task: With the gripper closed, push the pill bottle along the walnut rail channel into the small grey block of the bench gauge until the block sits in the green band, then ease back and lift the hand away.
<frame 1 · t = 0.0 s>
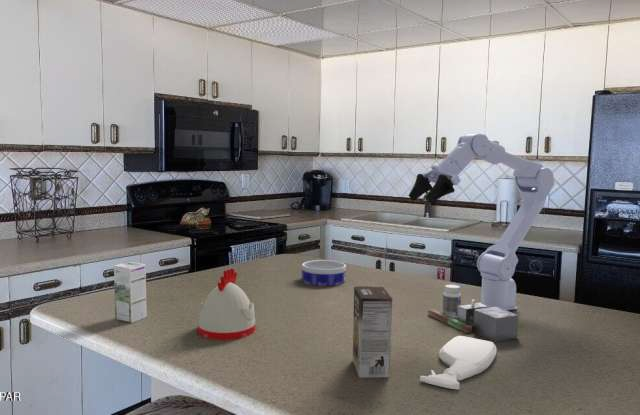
hand: (419, 199, 138), 32 cm above the countertop, tool tilted 50°, fingers open, 7 cm apart
spray bottle: (459, 369, 108), on the countertop
pill bottle: (451, 316, 143), on the countertop
dog bowl: (323, 281, 181), on the countertop
gauge rails: (463, 321, 139), on the countertop
kitchen timer: (227, 330, 128), on the countertop
syrup box: (130, 319, 135), on the countertop
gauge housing: (493, 334, 129), on the countertop
small grey block: (478, 314, 133), point 3 cm above the countertop, slide at 0.0 cm
coffee box: (370, 369, 106), on the countertop
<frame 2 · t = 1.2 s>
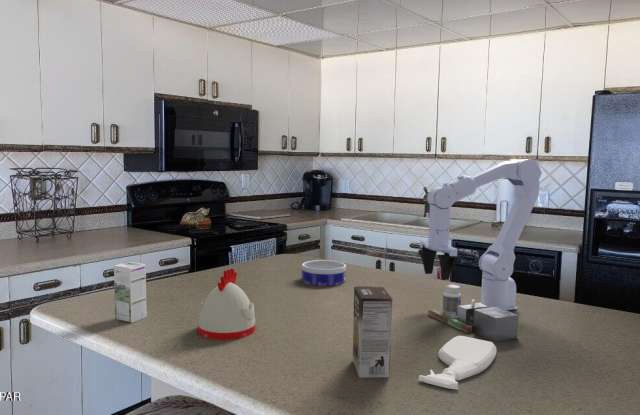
hand: (436, 276, 149), 9 cm above the countertop, tool pointing down, fingers open, 7 cm apart
nothing on the countertop moved.
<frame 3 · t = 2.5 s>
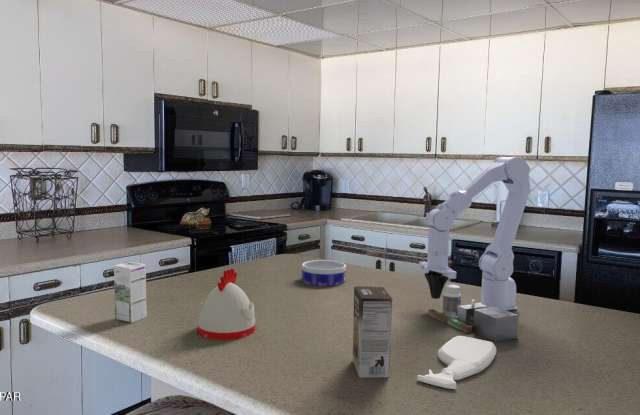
hand: (435, 298, 149), 3 cm above the countertop, tool pointing down, fingers closed
nothing on the countertop moved.
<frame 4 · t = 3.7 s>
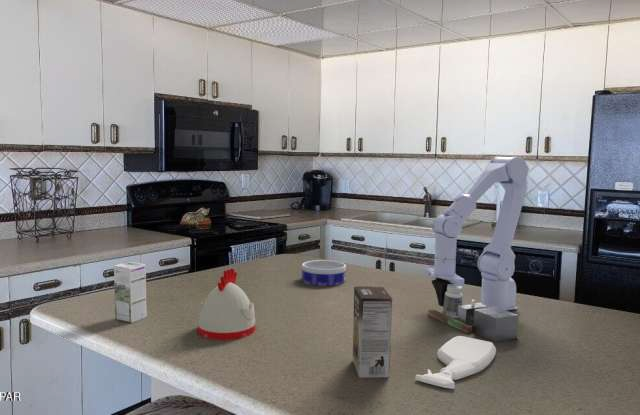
hand: (443, 305, 146), 2 cm above the countertop, tool pointing down, fingers closed
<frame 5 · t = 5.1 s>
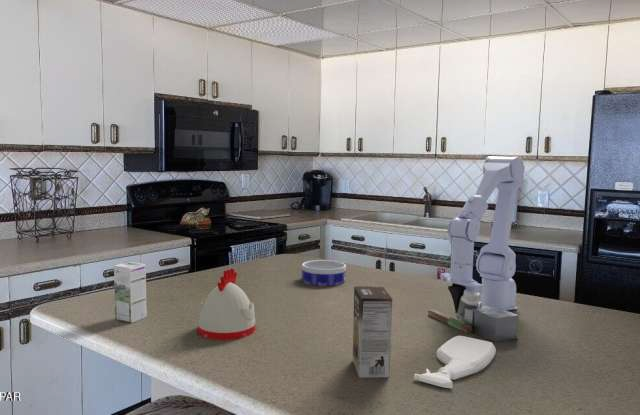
hand: (459, 312, 140), 2 cm above the countertop, tool pointing down, fingers closed, pressing on pill bottle
pill bottle: (464, 320, 138), on the countertop, touching gripper, small grey block
small grey block: (484, 317, 131), point 3 cm above the countertop, slide at 2.5 cm, touching pill bottle
everything else where it was.
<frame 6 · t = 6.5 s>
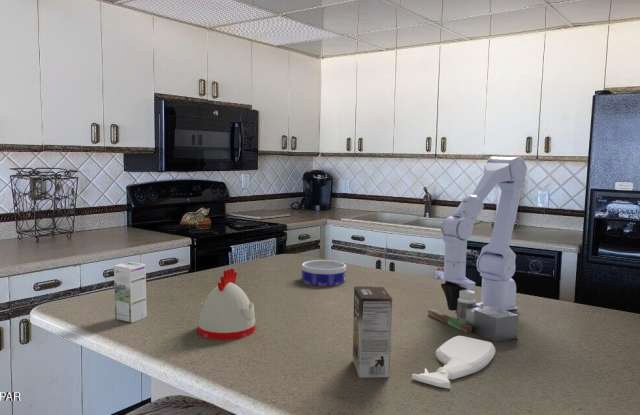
hand: (452, 309, 143), 2 cm above the countertop, tool pointing down, fingers closed
pill bottle: (465, 323, 138), on the countertop
small grey block: (486, 317, 131), point 3 cm above the countertop, slide at 3.0 cm, touching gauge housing
everything else where it was.
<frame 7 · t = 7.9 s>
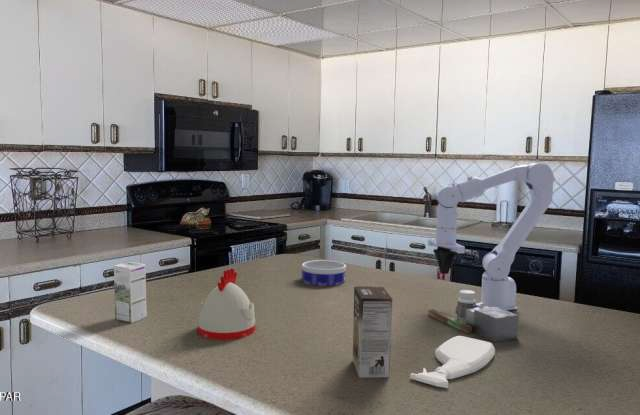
hand: (444, 273, 154), 9 cm above the countertop, tool pointing down, fingers closed
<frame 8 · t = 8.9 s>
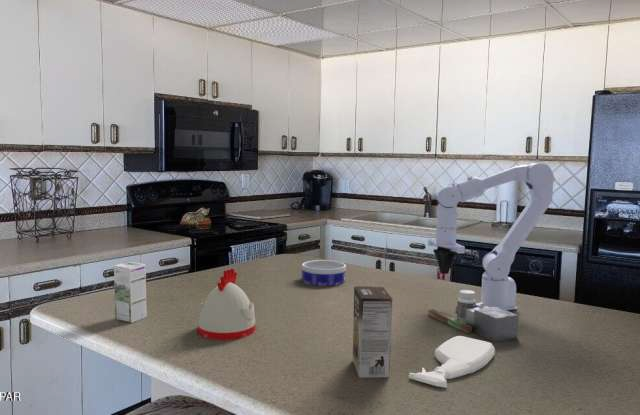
hand: (444, 273, 154), 9 cm above the countertop, tool pointing down, fingers closed
at the end: small grey block slide at 3.0 cm; pill bottle 1.9 cm from the target spot, on the countertop; pill bottle tilted 0° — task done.
